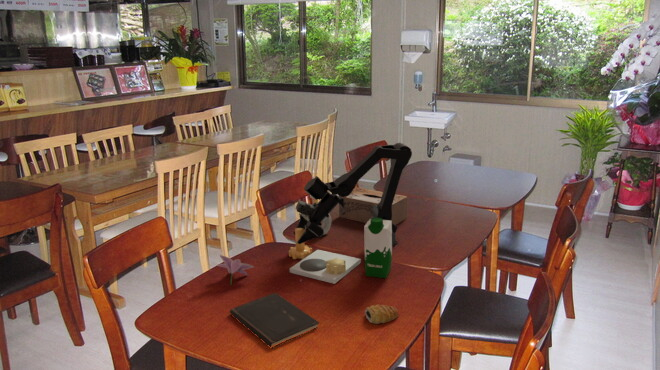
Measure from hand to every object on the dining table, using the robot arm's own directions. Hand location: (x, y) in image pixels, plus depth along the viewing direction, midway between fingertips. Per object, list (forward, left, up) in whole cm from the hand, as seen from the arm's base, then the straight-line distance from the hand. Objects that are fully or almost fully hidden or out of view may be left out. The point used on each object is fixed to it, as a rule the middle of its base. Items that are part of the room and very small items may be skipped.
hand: (296, 238), depth 197 cm
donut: (+2, -21, -7) cm, 22 cm away
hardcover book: (-20, +41, -7) cm, 46 cm away
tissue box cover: (-7, -48, -7) cm, 49 cm away
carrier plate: (-15, +4, -7) cm, 17 cm away
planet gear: (-1, -1, -7) cm, 7 cm away
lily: (+7, +26, -7) cm, 28 cm away
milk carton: (-33, -1, -7) cm, 34 cm away
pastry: (-46, +25, -7) cm, 53 cm away
